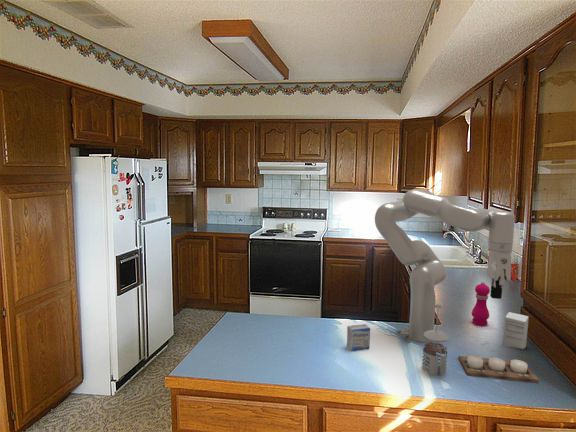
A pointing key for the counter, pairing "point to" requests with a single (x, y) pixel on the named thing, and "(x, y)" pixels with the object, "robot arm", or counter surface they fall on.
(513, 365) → the button
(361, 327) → the medicine box
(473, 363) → the three-pip button
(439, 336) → the french press
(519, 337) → the supplement box
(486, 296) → the pepper mill
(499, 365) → the button
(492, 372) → the button panel
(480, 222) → the robot arm
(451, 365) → the counter surface
